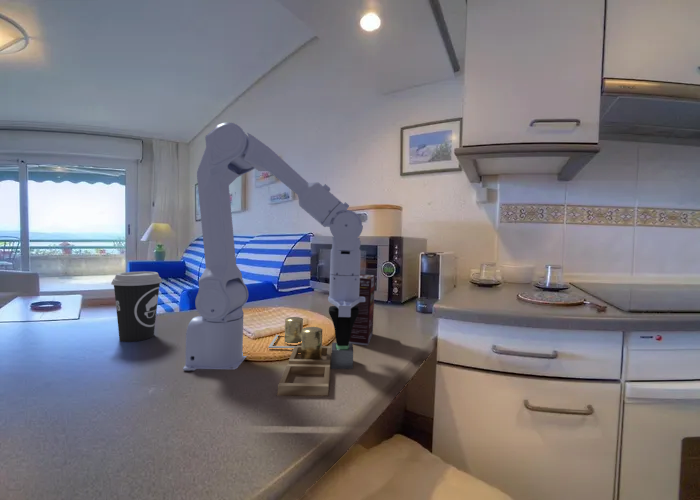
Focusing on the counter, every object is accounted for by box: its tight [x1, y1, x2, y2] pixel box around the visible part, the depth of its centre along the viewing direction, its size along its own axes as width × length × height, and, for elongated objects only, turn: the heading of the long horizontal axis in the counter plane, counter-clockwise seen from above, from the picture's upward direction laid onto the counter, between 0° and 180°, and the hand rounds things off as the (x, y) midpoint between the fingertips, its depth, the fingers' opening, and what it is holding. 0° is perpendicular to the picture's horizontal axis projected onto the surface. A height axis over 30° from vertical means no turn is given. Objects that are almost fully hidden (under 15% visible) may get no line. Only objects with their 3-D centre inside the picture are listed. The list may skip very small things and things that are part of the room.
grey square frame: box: [267, 334, 295, 349], centre depth 66 cm, size 9×9×1 cm
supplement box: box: [349, 273, 376, 346], centre depth 70 cm, size 9×5×16 cm, turn 168°
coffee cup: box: [111, 271, 163, 343], centre depth 67 cm, size 10×10×15 cm
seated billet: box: [300, 326, 323, 360], centre depth 56 cm, size 4×4×6 cm
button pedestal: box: [331, 342, 354, 370], centre depth 55 cm, size 4×4×4 cm
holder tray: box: [276, 345, 332, 397], centre depth 52 cm, size 8×17×2 cm, turn 2°
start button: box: [336, 344, 349, 349], centre depth 55 cm, size 2×2×4 cm
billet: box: [284, 316, 304, 343], centre depth 66 cm, size 4×4×6 cm
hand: (342, 344), depth 55 cm, fingers closed, pressing on start button
